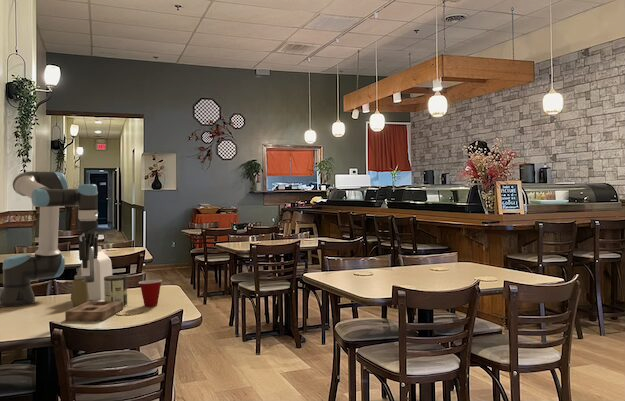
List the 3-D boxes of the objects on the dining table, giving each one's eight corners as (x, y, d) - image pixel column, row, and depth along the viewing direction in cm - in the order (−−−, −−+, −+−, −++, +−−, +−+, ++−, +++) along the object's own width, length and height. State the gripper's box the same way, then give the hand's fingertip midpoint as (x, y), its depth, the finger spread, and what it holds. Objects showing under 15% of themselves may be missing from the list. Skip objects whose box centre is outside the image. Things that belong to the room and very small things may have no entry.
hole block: (65, 321, 213) (65, 311, 213) (89, 309, 233) (88, 301, 233) (102, 321, 212) (102, 311, 212) (123, 310, 232) (122, 301, 232)
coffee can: (117, 302, 248) (117, 274, 248) (132, 305, 243) (131, 275, 242) (99, 307, 239) (99, 277, 239) (113, 309, 234) (113, 279, 234)
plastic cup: (151, 302, 249) (151, 277, 249) (167, 304, 244) (167, 279, 244) (133, 306, 240) (133, 281, 240) (149, 309, 234) (149, 283, 234)
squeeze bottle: (82, 307, 238) (81, 269, 238) (66, 306, 240) (66, 268, 239) (92, 303, 246) (92, 266, 246) (78, 303, 248) (77, 266, 247)
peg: (82, 282, 216) (81, 247, 215) (86, 281, 220) (86, 246, 219) (91, 282, 216) (90, 247, 215) (95, 281, 219) (95, 246, 219)
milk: (100, 299, 255) (100, 248, 255) (79, 299, 257) (79, 247, 256) (113, 295, 267) (113, 245, 266) (93, 294, 269) (93, 245, 268)
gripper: (86, 221, 208) (87, 278, 209) (106, 219, 225) (106, 271, 226) (69, 221, 209) (69, 278, 209) (89, 219, 226) (90, 271, 226)
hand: (89, 274), depth 218 cm, fingers closed on peg, 4 cm apart
